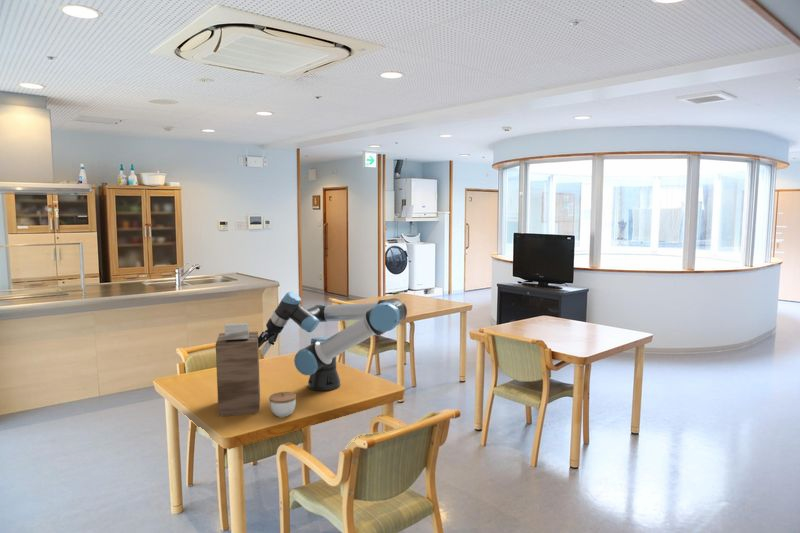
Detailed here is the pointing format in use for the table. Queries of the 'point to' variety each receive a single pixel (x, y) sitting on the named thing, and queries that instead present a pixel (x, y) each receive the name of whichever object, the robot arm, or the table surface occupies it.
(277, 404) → the lidded jar
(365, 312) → the robot arm
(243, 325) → the pale grey block
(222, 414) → the stand
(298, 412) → the table surface
